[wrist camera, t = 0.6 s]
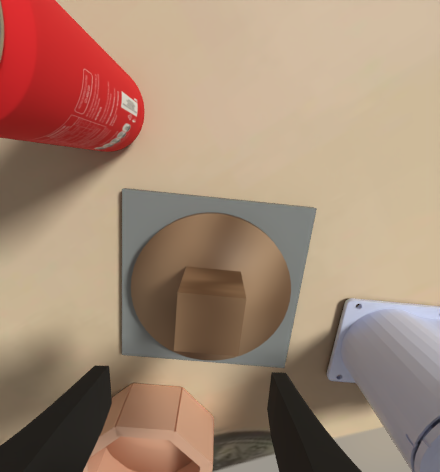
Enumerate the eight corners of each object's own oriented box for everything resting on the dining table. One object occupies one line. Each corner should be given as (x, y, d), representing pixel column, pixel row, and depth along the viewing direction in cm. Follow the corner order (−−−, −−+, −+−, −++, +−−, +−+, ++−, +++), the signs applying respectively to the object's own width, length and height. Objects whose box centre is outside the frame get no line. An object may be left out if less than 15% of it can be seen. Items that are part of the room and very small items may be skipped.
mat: (313, 207, 19) (316, 208, 18) (282, 362, 23) (284, 368, 22) (125, 188, 19) (122, 188, 18) (124, 350, 22) (121, 354, 22)
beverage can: (90, 161, 18) (-135, 152, 7) (58, 83, 17) (-295, -101, 5) (159, 139, 18) (49, 89, 6) (132, 58, 16) (-73, -200, 5)
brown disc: (300, 220, 19) (328, 239, 14) (274, 357, 22) (290, 411, 17) (136, 204, 18) (106, 217, 14) (133, 345, 21) (109, 397, 17)
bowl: (217, 389, 23) (217, 433, 20) (206, 475, 26) (204, 528, 22) (96, 380, 23) (71, 423, 19) (99, 468, 26) (78, 520, 22)
